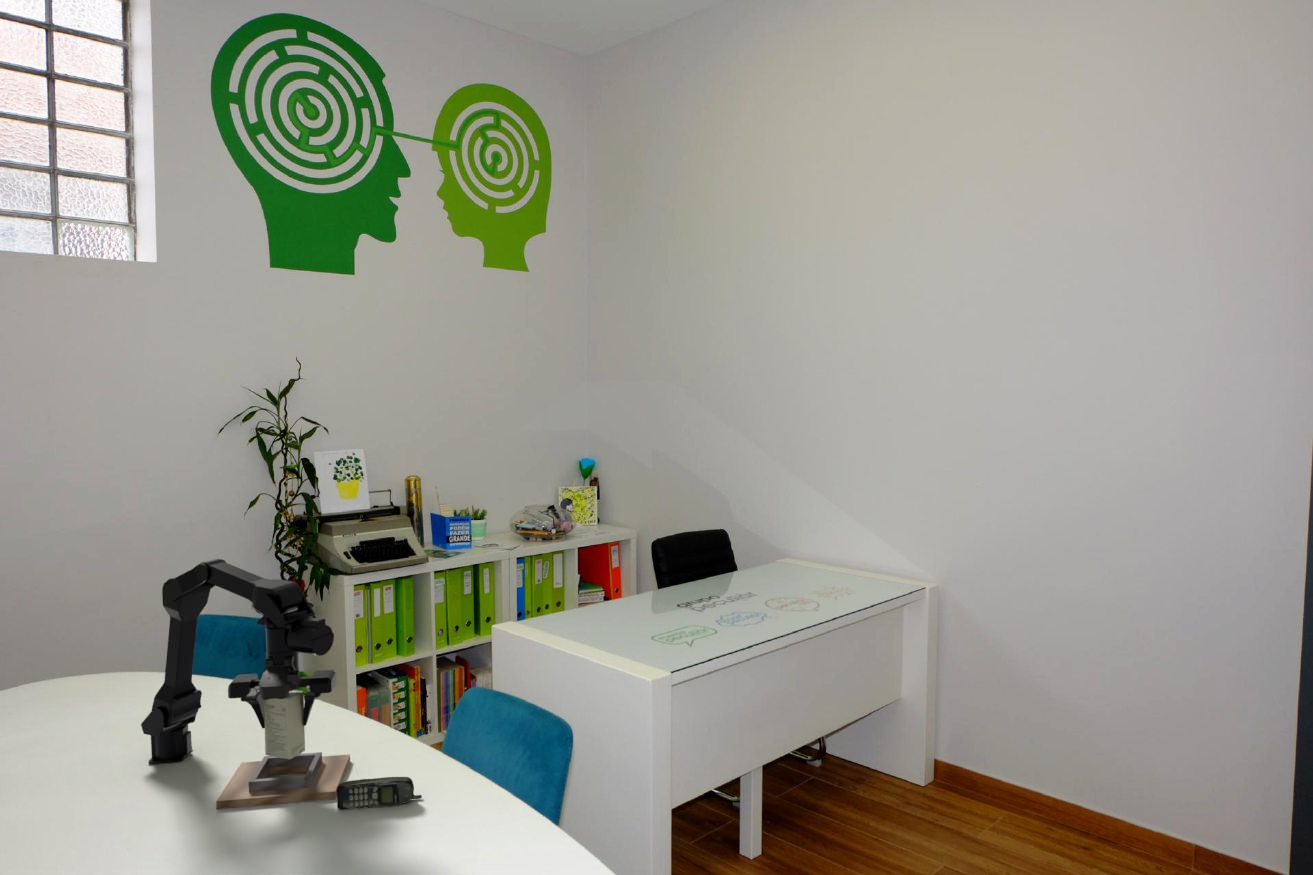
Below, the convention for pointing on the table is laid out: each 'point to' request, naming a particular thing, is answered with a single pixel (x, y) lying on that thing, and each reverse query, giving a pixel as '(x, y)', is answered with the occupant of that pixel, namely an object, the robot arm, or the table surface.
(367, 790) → the mobile phone
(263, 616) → the robot arm
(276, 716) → the skincare box
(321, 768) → the serum stand
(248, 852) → the table surface
